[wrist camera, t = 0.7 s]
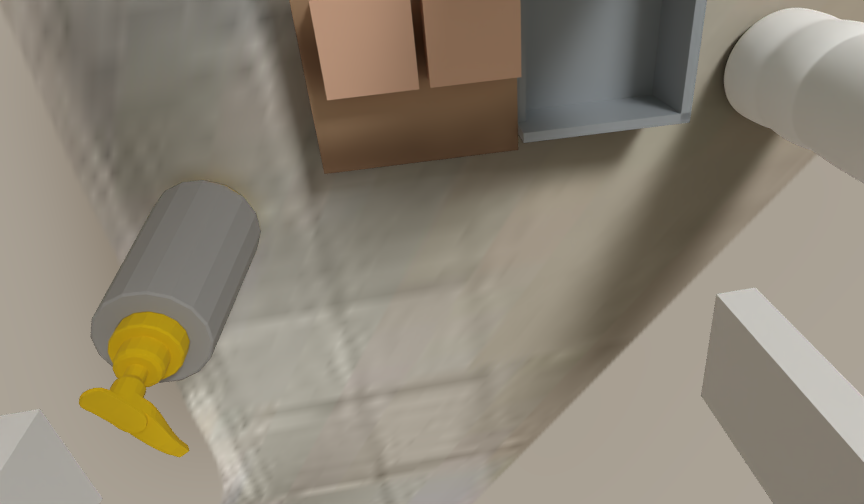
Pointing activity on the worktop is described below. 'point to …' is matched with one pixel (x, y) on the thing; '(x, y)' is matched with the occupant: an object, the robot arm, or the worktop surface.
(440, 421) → the worktop surface
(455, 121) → the walnut board
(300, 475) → the worktop surface
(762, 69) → the water bottle
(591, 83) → the tray
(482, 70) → the tile
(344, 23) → the tile
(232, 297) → the soap bottle
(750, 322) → the robot arm
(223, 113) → the worktop surface
